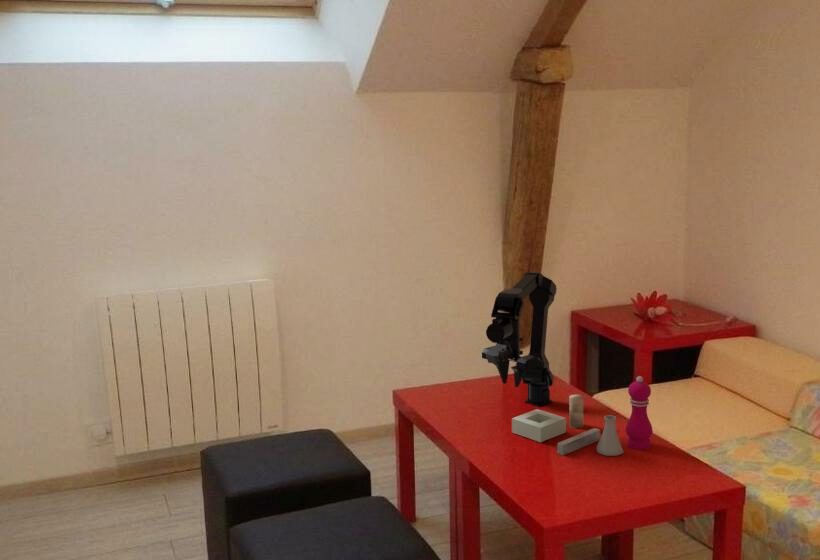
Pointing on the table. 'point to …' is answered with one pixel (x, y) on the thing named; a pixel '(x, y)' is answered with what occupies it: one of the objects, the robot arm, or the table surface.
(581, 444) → the bar
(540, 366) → the robot arm
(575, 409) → the dowel
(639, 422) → the pepper mill
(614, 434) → the flask
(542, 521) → the table surface
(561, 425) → the block
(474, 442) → the table surface
